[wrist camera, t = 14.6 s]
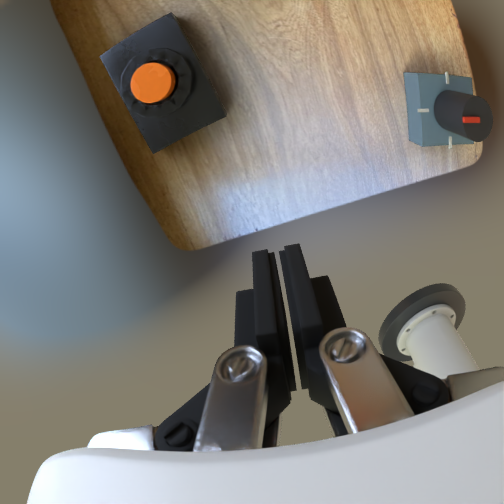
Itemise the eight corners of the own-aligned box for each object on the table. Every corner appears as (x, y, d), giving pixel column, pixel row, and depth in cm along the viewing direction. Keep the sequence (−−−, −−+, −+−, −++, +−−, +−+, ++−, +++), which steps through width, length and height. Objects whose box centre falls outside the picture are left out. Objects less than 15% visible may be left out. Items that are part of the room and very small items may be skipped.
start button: (182, 89, 23) (178, 89, 22) (147, 108, 24) (141, 110, 22) (164, 56, 21) (160, 54, 20) (130, 76, 22) (123, 77, 20)
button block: (227, 114, 28) (225, 118, 24) (158, 149, 29) (148, 159, 26) (175, 16, 22) (166, 8, 18) (108, 57, 23) (91, 55, 20)
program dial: (462, 90, 23) (494, 98, 18) (464, 130, 25) (494, 142, 21) (431, 89, 23) (462, 95, 19) (434, 131, 26) (464, 143, 21)
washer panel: (461, 140, 29) (476, 147, 26) (406, 143, 29) (419, 151, 27) (458, 72, 24) (474, 74, 21) (399, 68, 25) (414, 69, 22)
